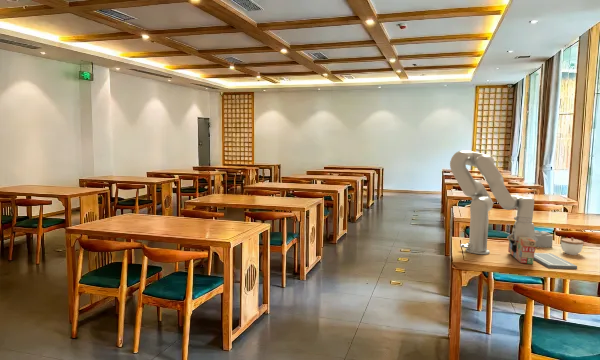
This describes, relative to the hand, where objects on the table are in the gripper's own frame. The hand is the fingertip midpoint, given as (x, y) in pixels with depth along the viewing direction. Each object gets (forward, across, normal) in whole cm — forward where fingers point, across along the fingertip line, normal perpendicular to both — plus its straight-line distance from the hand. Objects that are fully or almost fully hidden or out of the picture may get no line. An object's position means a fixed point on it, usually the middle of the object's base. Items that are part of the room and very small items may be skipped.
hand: (520, 252), depth 225 cm
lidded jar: (+3, +36, +16) cm, 39 cm away
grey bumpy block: (+4, +27, +34) cm, 43 cm away
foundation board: (+3, +14, -4) cm, 15 cm away
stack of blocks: (+3, 0, 0) cm, 3 cm away
